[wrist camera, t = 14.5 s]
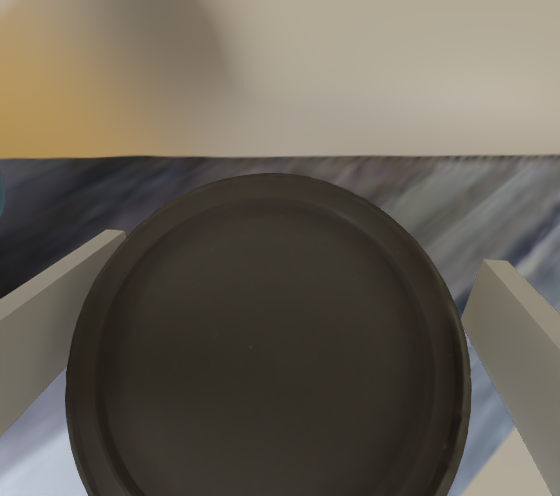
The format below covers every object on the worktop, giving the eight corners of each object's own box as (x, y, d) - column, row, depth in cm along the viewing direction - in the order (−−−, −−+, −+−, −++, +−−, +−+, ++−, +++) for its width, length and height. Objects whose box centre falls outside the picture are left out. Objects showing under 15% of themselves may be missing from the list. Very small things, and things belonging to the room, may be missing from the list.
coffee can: (214, 431, 20) (21, 606, 7) (219, 275, 23) (94, 182, 10) (376, 432, 19) (525, 635, 6) (361, 269, 22) (435, 158, 9)
